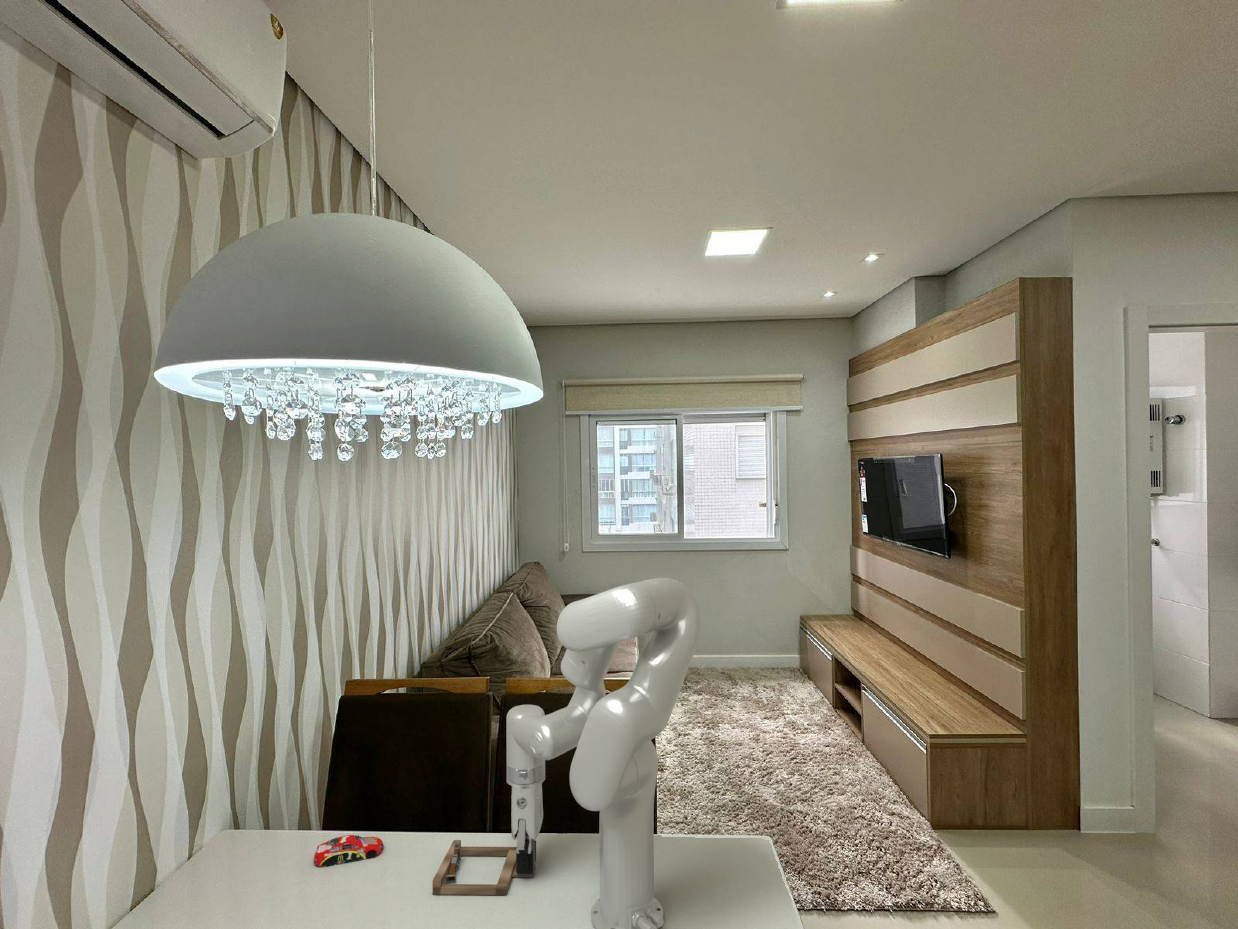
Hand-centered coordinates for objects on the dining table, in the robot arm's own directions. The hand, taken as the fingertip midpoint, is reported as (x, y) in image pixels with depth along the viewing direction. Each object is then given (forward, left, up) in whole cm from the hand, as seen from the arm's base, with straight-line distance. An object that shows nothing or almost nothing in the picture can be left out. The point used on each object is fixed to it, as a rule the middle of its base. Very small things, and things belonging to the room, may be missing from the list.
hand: (526, 866), depth 132 cm
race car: (+26, +27, -2) cm, 38 cm away
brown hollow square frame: (+4, +6, -1) cm, 7 cm away
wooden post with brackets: (+8, +12, -2) cm, 14 cm away
